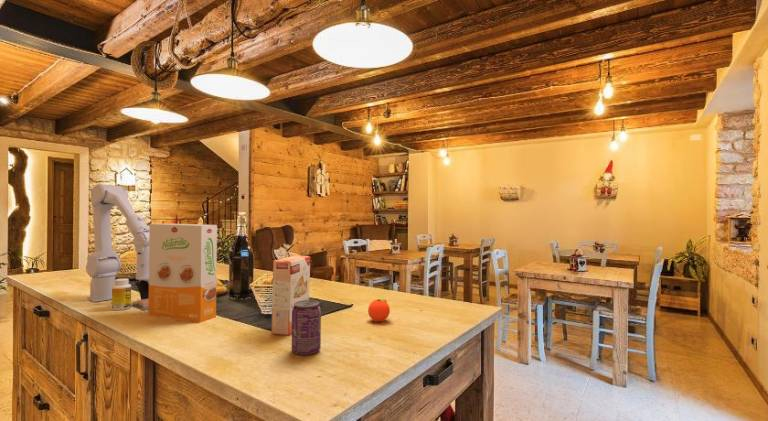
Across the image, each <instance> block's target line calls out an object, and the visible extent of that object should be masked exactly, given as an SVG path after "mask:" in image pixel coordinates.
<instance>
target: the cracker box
mask: <svg viewBox="0 0 768 421" xmlns="http://www.w3.org/2000/svg"><path fill="white" fill-rule="evenodd" d="M272 267H273V268H272V294H271V295H272V296H271V297H272V298H271V300H272V301H271V302H272V303H271V305H272V306H271V334H272V335H273V334H274V335H283V336H290V335H292V310H293V308H294V303H295V302H298V301H304V300H310V278H311V277H310V276H311V274H310V273H311V256H309V255H291V256H288V257H284V258H280V259H276V260H273V264H272Z"/></svg>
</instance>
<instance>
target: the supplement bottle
mask: <svg viewBox="0 0 768 421" xmlns="http://www.w3.org/2000/svg"><path fill="white" fill-rule="evenodd" d="M129 282H130V280H129V278H117V279H116V278H115V285H114V286H112V299H111V309H112V310H113V311H124V310H128V309H131V307H132V285H131V283H129Z"/></svg>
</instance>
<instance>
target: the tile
mask: <svg viewBox="0 0 768 421" xmlns="http://www.w3.org/2000/svg"><path fill="white" fill-rule="evenodd" d="M136 304H137V305H138V306H140V307H142V308H146V307H149V299H142V300H141V299H138V300H136Z"/></svg>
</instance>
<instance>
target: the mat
mask: <svg viewBox="0 0 768 421" xmlns="http://www.w3.org/2000/svg"><path fill="white" fill-rule="evenodd" d="M131 306H133V307H135V308H137V309H138V310H141V311H149V307H146V308H142V307H140V306H138V305H137V303H135V304H134V303H133V304H132V303H131Z"/></svg>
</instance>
